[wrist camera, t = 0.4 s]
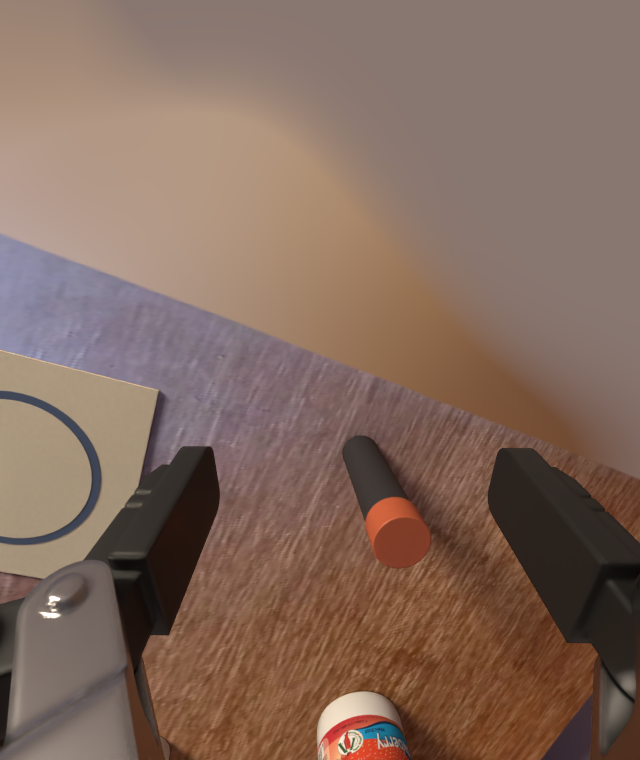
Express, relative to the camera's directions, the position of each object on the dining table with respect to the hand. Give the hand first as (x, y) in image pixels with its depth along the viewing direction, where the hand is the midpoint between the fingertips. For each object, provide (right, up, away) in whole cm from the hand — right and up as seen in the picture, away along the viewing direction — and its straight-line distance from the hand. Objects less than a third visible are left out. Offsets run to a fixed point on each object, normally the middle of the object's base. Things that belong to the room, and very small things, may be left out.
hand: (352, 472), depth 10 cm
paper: (-27, -5, +19) cm, 33 cm away
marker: (+3, -4, +21) cm, 22 cm away
